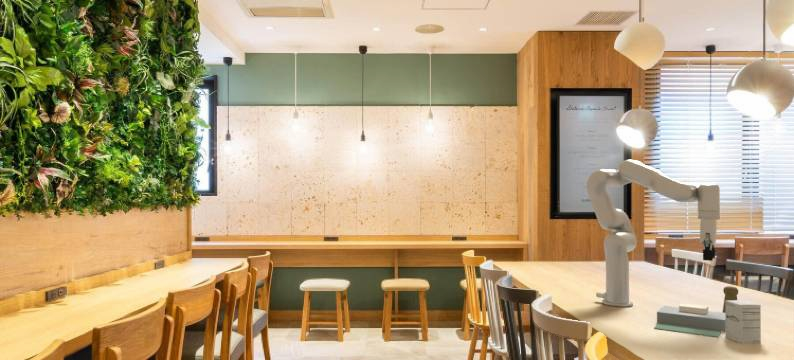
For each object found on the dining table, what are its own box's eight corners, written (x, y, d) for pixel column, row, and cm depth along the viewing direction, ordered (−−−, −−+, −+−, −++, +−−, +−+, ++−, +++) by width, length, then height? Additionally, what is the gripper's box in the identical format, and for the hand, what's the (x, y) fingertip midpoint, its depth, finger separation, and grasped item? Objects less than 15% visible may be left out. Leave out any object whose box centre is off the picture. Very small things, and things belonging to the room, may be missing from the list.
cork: (742, 315, 217) (742, 288, 217) (725, 315, 218) (725, 287, 218) (736, 312, 222) (735, 285, 223) (720, 312, 224) (719, 285, 224)
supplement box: (724, 337, 183) (724, 300, 183) (745, 337, 184) (744, 299, 184) (740, 343, 176) (739, 304, 176) (761, 343, 176) (761, 304, 177)
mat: (653, 328, 195) (653, 327, 195) (659, 323, 203) (659, 322, 203) (718, 337, 183) (718, 336, 183) (721, 331, 191) (721, 330, 191)
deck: (656, 322, 204) (656, 311, 204) (664, 315, 216) (664, 305, 216) (724, 331, 191) (724, 320, 191) (728, 324, 203) (728, 313, 203)
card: (679, 311, 206) (679, 305, 206) (681, 308, 211) (681, 303, 211) (706, 314, 201) (706, 308, 201) (708, 311, 205) (708, 306, 205)
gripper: (700, 214, 222) (700, 256, 222) (695, 215, 208) (695, 260, 208) (721, 215, 218) (722, 257, 218) (717, 216, 204) (718, 262, 203)
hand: (709, 259), depth 213 cm, fingers open, 9 cm apart
